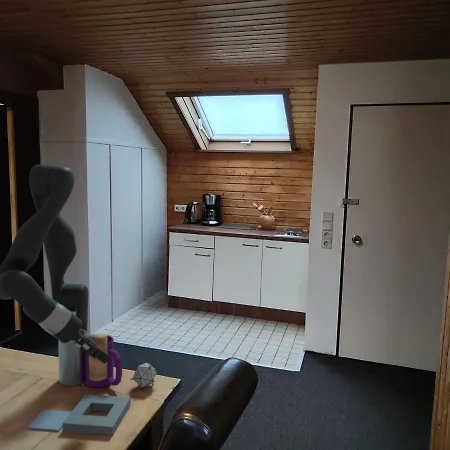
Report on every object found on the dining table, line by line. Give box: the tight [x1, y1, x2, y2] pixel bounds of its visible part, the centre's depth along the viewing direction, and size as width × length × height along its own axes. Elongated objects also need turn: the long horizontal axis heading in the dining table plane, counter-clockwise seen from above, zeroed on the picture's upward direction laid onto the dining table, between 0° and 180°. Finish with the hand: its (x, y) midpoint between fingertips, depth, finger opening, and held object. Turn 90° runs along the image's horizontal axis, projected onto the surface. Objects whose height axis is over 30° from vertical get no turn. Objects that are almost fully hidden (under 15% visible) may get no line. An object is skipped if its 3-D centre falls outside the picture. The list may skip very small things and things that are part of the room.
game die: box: [129, 359, 160, 391], centre depth 147 cm, size 9×8×10 cm
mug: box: [85, 334, 123, 389], centre depth 146 cm, size 9×16×15 cm, turn 53°
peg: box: [89, 332, 108, 381], centre depth 125 cm, size 5×5×12 cm
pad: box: [27, 409, 72, 432], centre depth 125 cm, size 9×9×1 cm
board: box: [62, 394, 132, 436], centre depth 127 cm, size 16×14×2 cm
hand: (104, 356), depth 126 cm, fingers closed on peg, 5 cm apart
